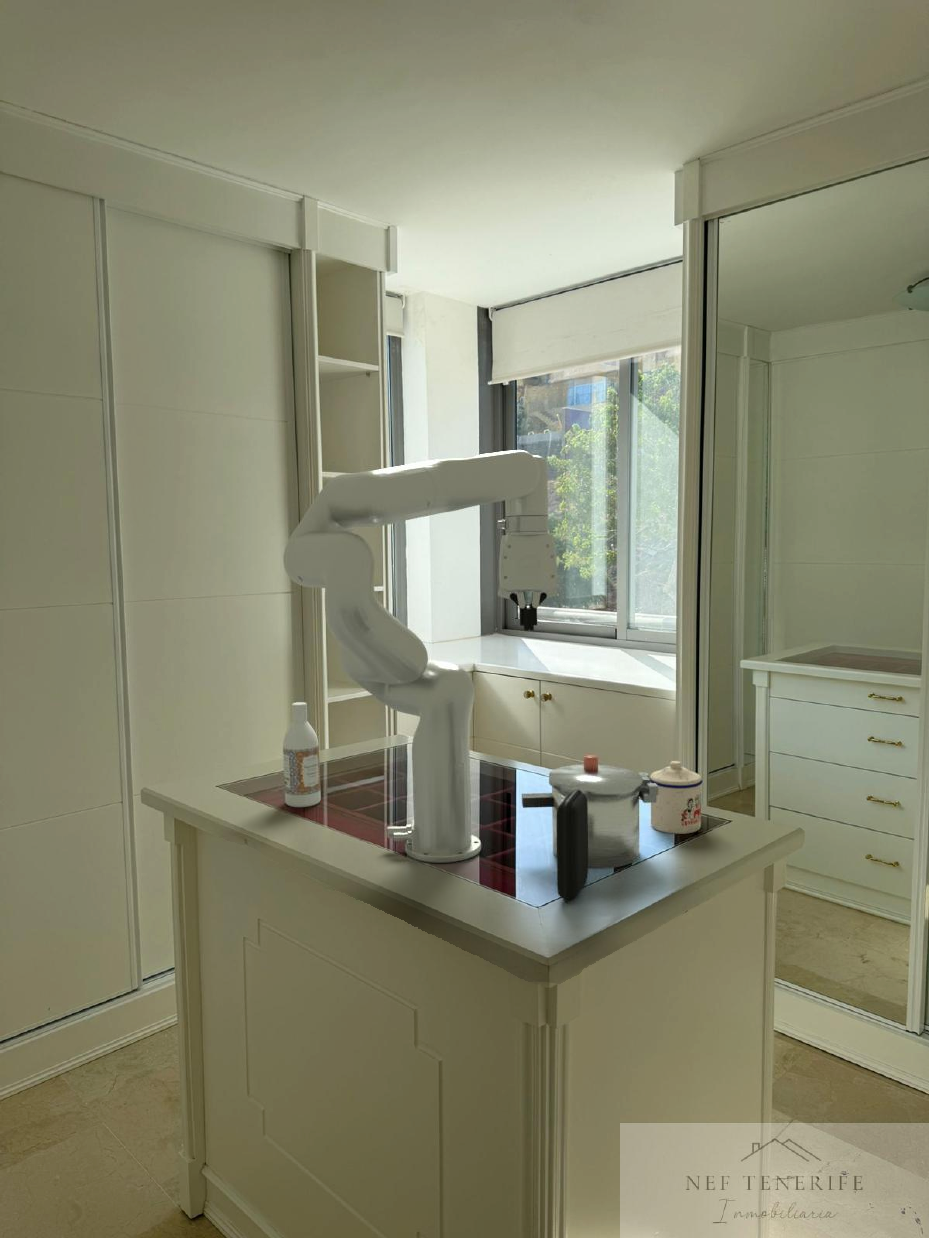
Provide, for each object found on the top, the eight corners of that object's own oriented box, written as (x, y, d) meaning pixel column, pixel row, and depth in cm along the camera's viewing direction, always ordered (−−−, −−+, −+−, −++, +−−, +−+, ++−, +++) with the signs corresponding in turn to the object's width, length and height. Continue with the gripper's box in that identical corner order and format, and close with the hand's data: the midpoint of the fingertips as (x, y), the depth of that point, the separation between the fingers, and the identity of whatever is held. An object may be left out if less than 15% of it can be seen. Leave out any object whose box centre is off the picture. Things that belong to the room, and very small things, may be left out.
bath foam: (298, 810, 172) (294, 708, 170) (278, 803, 177) (274, 703, 175) (327, 802, 177) (324, 702, 175) (307, 795, 182) (304, 698, 180)
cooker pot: (527, 870, 139) (525, 795, 138) (519, 839, 153) (518, 771, 151) (662, 866, 139) (662, 791, 138) (643, 836, 153) (643, 767, 152)
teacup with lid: (690, 838, 152) (690, 771, 150) (640, 828, 157) (640, 764, 156) (715, 819, 161) (716, 756, 160) (668, 811, 167) (668, 750, 165)
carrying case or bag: (572, 877, 135) (571, 783, 134) (592, 880, 134) (591, 784, 133) (554, 905, 125) (553, 803, 124) (576, 908, 124) (574, 805, 123)
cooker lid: (554, 796, 137) (555, 776, 137) (544, 771, 152) (544, 752, 152) (658, 796, 137) (659, 776, 137) (638, 771, 152) (638, 752, 152)
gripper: (485, 527, 154) (487, 633, 155) (572, 525, 154) (573, 631, 156) (483, 527, 161) (485, 628, 163) (566, 526, 161) (567, 626, 163)
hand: (528, 629), depth 159 cm, fingers closed
